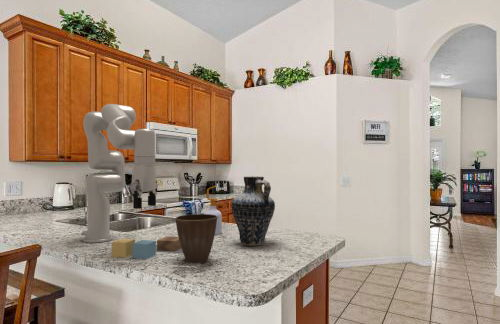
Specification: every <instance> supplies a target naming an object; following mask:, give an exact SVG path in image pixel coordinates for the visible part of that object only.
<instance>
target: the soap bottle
mask: <svg viewBox="0 0 500 324" xmlns="http://www.w3.org/2000/svg"><path fill="white" fill-rule="evenodd" d="M216 187H217V186H216V185H214V186H210V187H209V188H207V189H206V199H207V200H208V201H210V204H209V209H208V210H206V211H205V212H204V214H210V215H216V216H217V224H216V231H215V236H217V235H218V236H219V235H221V234H222V233H223V232H222V231H223V228H222V227H223V226H222V225H223V223H222V221H223V216H222V212H221V211H220V210H218V209H217V204H215V203H216V201H218V200H219V199H218V198H210V197H209V196H210V195H209V194H210V192H209V191H210V189H214V188H216Z"/></svg>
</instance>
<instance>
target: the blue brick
mask: <svg viewBox="0 0 500 324" xmlns="http://www.w3.org/2000/svg"><path fill="white" fill-rule="evenodd" d="M156 245H157V240H153V239H152V240H151V239H140V240H137V241H135V243H133V254H132V258H133V259H144V260H149V259H150V258H152V257H154V256H156V255H157V252H156Z"/></svg>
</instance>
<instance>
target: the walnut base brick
mask: <svg viewBox="0 0 500 324" xmlns="http://www.w3.org/2000/svg"><path fill="white" fill-rule="evenodd" d="M156 245H157V250H161V251H177V250H179V249H181V244H180V241H179V237H178V236H173V235H172V236H171V235H170V236H169V235H166V236H164V237H161V238H159V239H157V240H156Z"/></svg>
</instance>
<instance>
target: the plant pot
mask: <svg viewBox="0 0 500 324" xmlns="http://www.w3.org/2000/svg"><path fill="white" fill-rule="evenodd" d="M174 219H175V225H176V232H177V237H179V241H180V244H181V248H182V251H183V253H182V254H183V256H184V259H185V261H186V262H187V263H191V264H199V265H201V264H205V263H207V262H208V260H209V257H210V254H211V252H212V251H211V250H212V247H213V243H214V240H215V237H216V235H215V231H216V224H217V216H216V215H210V214H205V213H197V214H196V213H195V214H184V215H179V216H176V217H175V218H174Z"/></svg>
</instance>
